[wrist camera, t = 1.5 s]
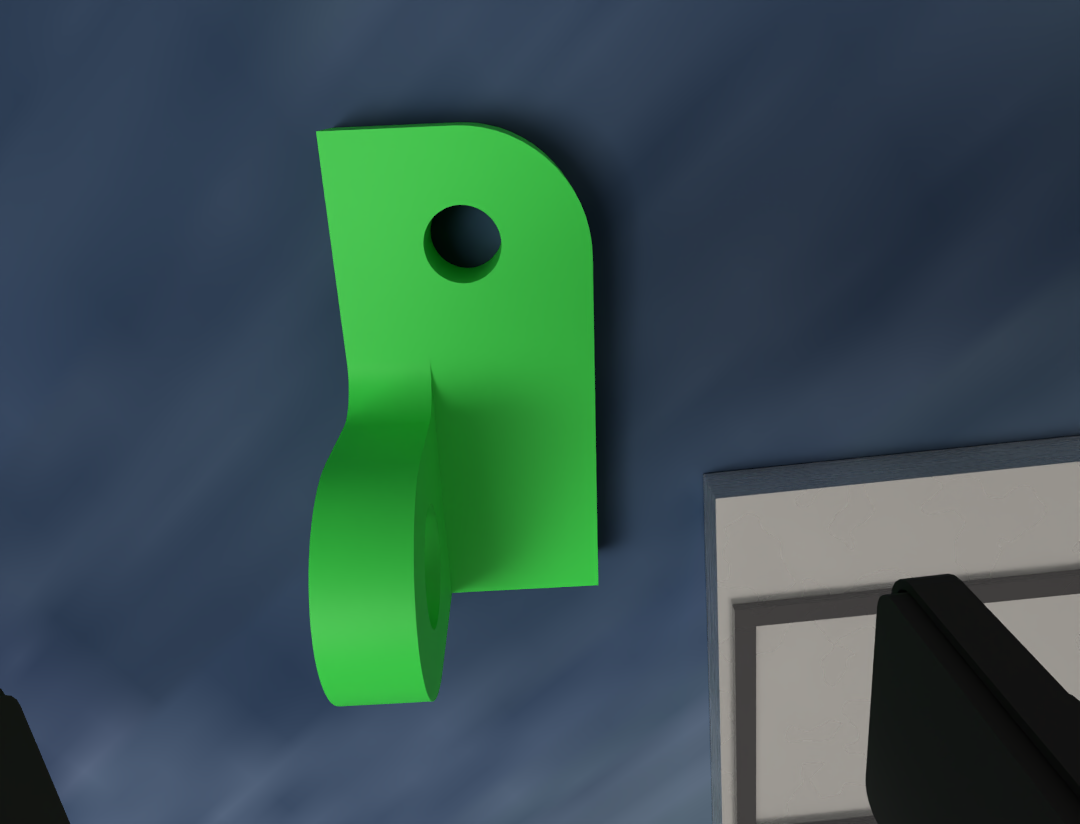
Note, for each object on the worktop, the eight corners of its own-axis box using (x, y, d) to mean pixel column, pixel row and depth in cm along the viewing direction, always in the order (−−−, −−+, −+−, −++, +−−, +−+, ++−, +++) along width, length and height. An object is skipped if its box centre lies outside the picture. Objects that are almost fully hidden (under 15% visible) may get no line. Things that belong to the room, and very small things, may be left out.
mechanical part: (591, 546, 24) (626, 750, 17) (388, 557, 24) (333, 766, 17) (583, 116, 20) (625, 133, 12) (334, 127, 20) (226, 150, 12)
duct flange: (1268, 416, 23) (1327, 441, 21) (1164, 833, 29) (1204, 878, 27) (703, 474, 23) (718, 503, 21) (714, 878, 29) (726, 926, 27)
